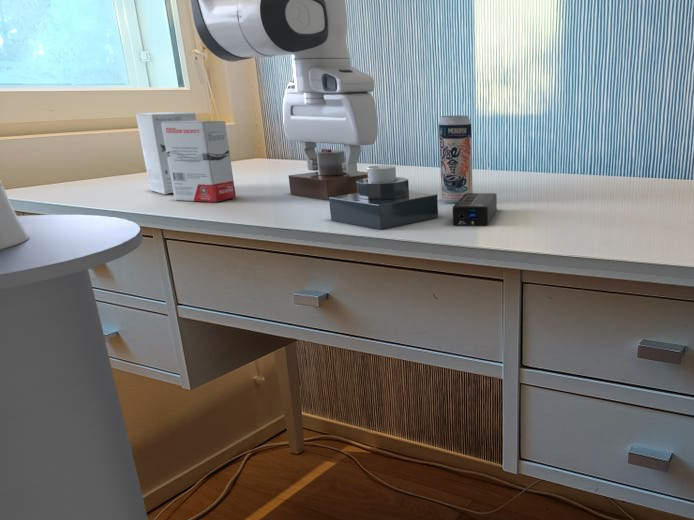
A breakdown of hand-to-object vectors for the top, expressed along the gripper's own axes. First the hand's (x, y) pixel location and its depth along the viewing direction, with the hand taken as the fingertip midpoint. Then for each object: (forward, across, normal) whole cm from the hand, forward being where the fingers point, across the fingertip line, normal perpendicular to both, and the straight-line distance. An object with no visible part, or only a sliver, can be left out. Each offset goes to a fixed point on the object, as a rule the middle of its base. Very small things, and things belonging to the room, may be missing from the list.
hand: (332, 172), depth 111 cm
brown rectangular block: (+3, 0, 0) cm, 3 cm away
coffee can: (+4, +22, +6) cm, 23 cm away
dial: (0, 0, 0) cm, 0 cm away
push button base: (+3, +24, -10) cm, 26 cm away
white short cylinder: (-1, +24, -10) cm, 26 cm away
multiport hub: (+4, +33, -2) cm, 33 cm away
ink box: (+4, -12, -16) cm, 20 cm away
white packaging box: (+4, -25, -14) cm, 29 cm away
